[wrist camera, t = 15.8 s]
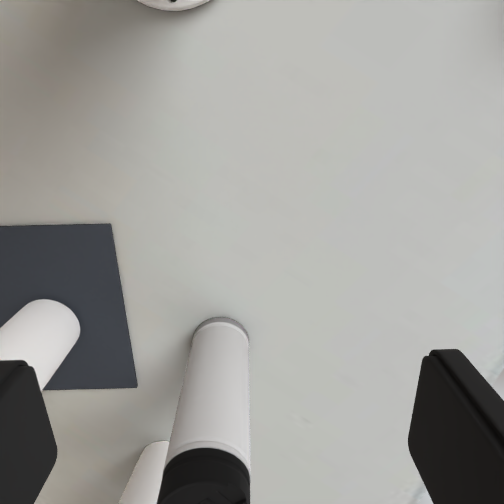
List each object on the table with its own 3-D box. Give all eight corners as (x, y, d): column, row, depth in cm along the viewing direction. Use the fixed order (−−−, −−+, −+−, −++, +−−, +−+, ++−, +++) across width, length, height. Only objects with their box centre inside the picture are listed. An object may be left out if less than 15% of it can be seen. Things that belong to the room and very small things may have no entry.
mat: (-33, 226, 37) (-36, 227, 36) (111, 223, 37) (109, 224, 36) (18, 388, 44) (16, 391, 44) (137, 385, 44) (136, 388, 44)
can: (32, 351, 42) (-46, 442, 31) (11, 300, 39) (-81, 378, 28) (89, 345, 42) (31, 434, 30) (72, 293, 39) (3, 370, 28)
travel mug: (179, 337, 42) (125, 526, 23) (224, 305, 40) (207, 478, 22) (215, 373, 44) (192, 573, 25) (260, 343, 42) (271, 532, 24)
